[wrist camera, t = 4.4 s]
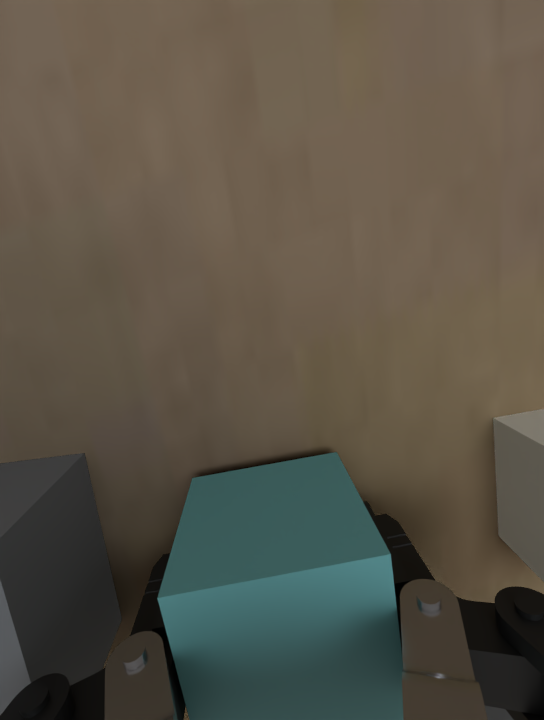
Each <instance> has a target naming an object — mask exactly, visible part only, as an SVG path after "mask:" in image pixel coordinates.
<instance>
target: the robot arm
mask: <svg viewBox="0 0 544 720" xmlns="http://www.w3.org/2000/svg"><path fill="white" fill-rule="evenodd" d="M363 503H364V505H365V507H366V509H367V510H368V512H369V514H370V516H371V518H372V520H373V522H374V524H375V525H376V527H377V529H378V531H379V533H380V535H381V537H382V539H383V541H384V542H385V544H386V546H387V548H388V550H389V552H390V554H391V561H392V570H393V579H394V588H395V597H396V606H397V615H398V624H399V633H400V642H401V651H402V658H403V669H402V696H403V720H488V719H487V714H486V710H485V706H490V707H496V708H501V709H506V711H507V712H508V713H509V715H510V716H511V717H512V718H513V719H514V720H544V595H543V594H542V593H540V592H537V591H535V590H532V589H529V588H524V587H507V588H504V589H502V590H501V591H499V592H498V593H497V595H496V597H495V603H486V602H476V601H468V600H464V599H461V598H458V597H456V596H455V595H454V593H453V592H452V591H451V590H450V589H449V588H448V587H446V586H445V585H443V584H441V583H439V582H437V581H435V579H434V578H433V576H432V575H431V573H430V572H429V570H428V568H427V567H426V565H425V564H424V562H423V560H422V559H421V557H420V556H419V554H418V553H417V551H416V549H415V548H414V546H413V545H412V544H411V541H410V540H409V538H408V537H407V536H406V534H405V532H404V530H403V529H402V527H401V526H400V524H399V523H398V522H397V521H396V520H394V519H393V518H391V517H390V516H389V515H387V514H383V515H378V516H375V514H374V512H373V511H372V509H371V507H370V505H369V503H368V502H367V501H366V502H363ZM169 557H170V553H169V554H164V555H163V556H162V557H161V558H160V559H159V561H158V562H157V563H156V565H155V566H154V567H153V570H152V573H151V575H150V578H149V583H148V584H147V587H146V590H145V595H144V596H143V599H142V602H141V605H140V608H139V611H138V614H137V617H136V620H135V623H134V626H133V629H132V632H131V635H130V637H128V638H127V639H125V640H124V641H123V642H121V643H120V644H119V645H118V646H117V647H116V648H115V649H114V651H113V652H112V654H111V655H110V657H109V659H108V661H107V664H106V667H105V668H104V669H102V670H100V671H99V672H97V673H95V674H93V675H91V676H89V677H87V678H85V679H83V680H81V681H79V682H77V683H75V684H73V685H71V686H70V684H69V681H68V679H67V677H66V676H65V675H63V674H60V673H52V674H48V675H45V676H42V677H40V678H38V679H36V680H35V681H33V682H32V683H30V684H29V685H27V686H26V687H25V688H24V689H23V690H21V691H20V692H19V693H18V694H17V695H16V696H15V698H14V699H13V700H12V701H11V702H10V704H9V705H8V706H7V708H6V709H5V710H4V712H3V713H2V714H1V715H0V720H184V719H183V718H184V712H185V705H186V704H185V701H184V697H183V693H182V689H181V685H180V682H179V678H178V674H177V670H176V667H175V663H174V659H173V655H172V652H171V648H170V644H169V640H168V636H167V633H166V629H165V625H164V621H163V618H162V614H161V610H160V606H159V602H158V599H157V598H158V594H159V591H160V587H161V584H162V581H163V577H164V574H165V570H166V567H167V563H168V560H169Z"/></svg>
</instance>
